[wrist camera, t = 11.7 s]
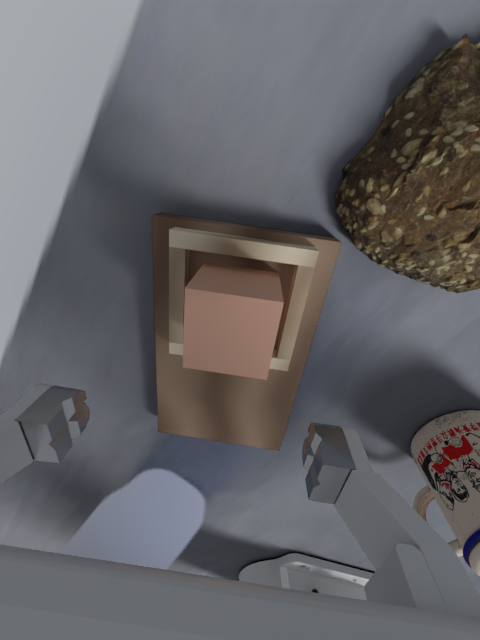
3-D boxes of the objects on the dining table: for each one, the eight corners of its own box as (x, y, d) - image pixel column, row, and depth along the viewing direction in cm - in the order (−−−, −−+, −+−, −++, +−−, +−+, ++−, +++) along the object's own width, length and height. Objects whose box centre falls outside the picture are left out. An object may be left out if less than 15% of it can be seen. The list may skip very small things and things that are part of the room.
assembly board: (335, 238, 18) (347, 246, 15) (278, 437, 27) (280, 462, 24) (160, 212, 18) (143, 217, 15) (163, 419, 27) (153, 442, 25)
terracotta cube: (278, 272, 17) (283, 302, 13) (266, 336, 20) (266, 380, 15) (204, 262, 18) (184, 288, 13) (200, 326, 20) (182, 367, 15)
